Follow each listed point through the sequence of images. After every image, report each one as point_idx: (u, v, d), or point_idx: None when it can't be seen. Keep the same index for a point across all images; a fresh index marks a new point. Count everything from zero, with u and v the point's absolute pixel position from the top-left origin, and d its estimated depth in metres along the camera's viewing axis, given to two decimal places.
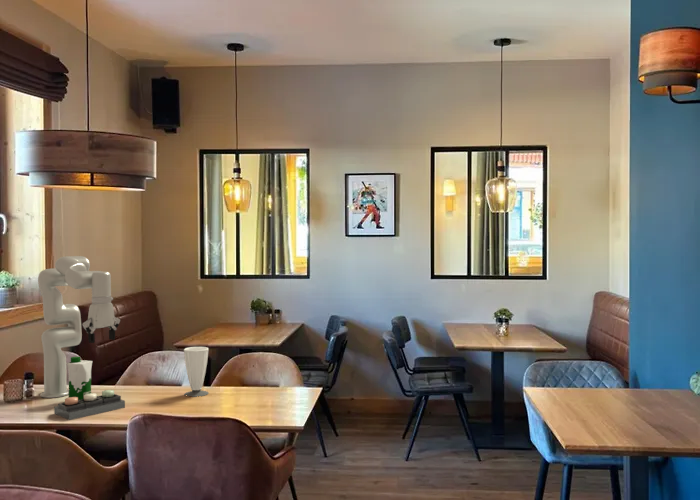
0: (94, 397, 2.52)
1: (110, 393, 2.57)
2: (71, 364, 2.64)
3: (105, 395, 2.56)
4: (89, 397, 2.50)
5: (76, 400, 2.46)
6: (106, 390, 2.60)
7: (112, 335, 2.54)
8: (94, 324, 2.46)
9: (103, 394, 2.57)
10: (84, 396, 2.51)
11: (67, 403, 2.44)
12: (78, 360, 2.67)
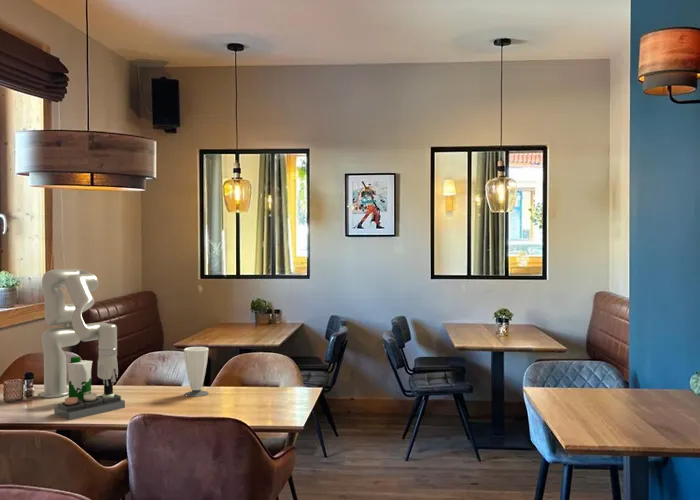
0: (94, 397, 2.52)
1: (110, 396, 2.57)
2: (71, 364, 2.64)
3: (105, 398, 2.56)
4: (89, 397, 2.50)
5: (76, 400, 2.46)
6: None
7: None
8: (117, 374, 2.57)
9: (103, 397, 2.57)
10: (84, 396, 2.51)
11: (67, 403, 2.44)
12: (78, 360, 2.67)
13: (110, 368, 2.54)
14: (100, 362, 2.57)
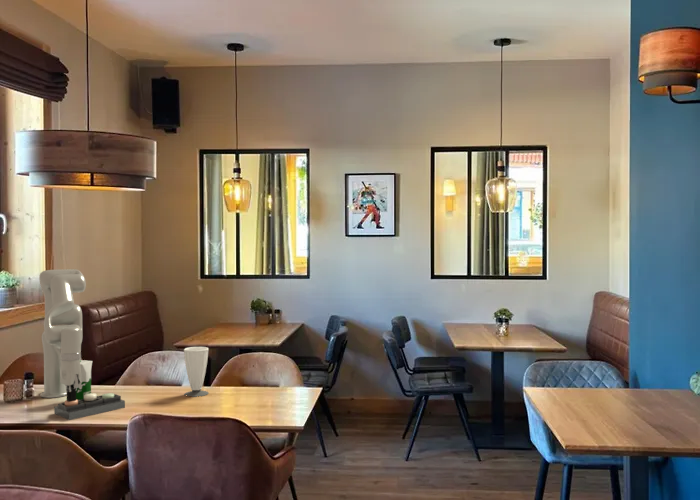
0: (94, 397, 2.52)
1: (110, 396, 2.57)
2: None
3: (105, 398, 2.56)
4: (89, 397, 2.50)
5: (76, 402, 2.46)
6: None
7: None
8: (80, 380, 2.45)
9: (103, 397, 2.57)
10: (84, 396, 2.51)
11: (67, 405, 2.44)
12: None
13: (72, 373, 2.42)
14: (63, 367, 2.45)
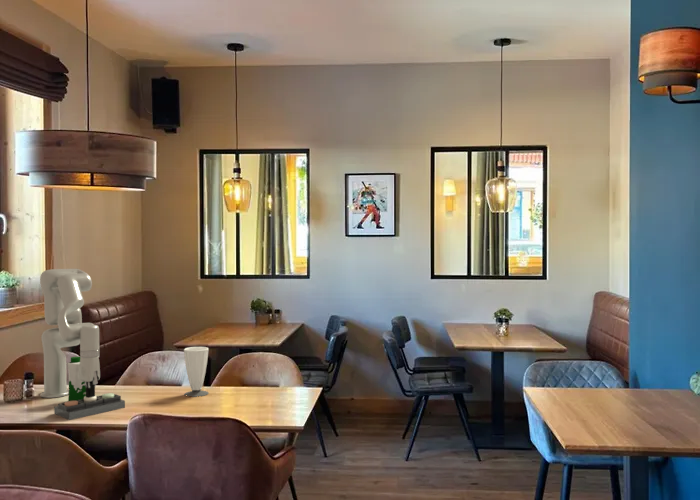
0: (94, 399, 2.52)
1: (110, 396, 2.57)
2: (71, 364, 2.64)
3: (105, 398, 2.56)
4: (89, 399, 2.50)
5: (76, 404, 2.46)
6: None
7: None
8: (99, 376, 2.51)
9: (103, 397, 2.57)
10: (84, 398, 2.51)
11: None
12: (78, 360, 2.67)
13: (92, 370, 2.48)
14: (82, 364, 2.51)
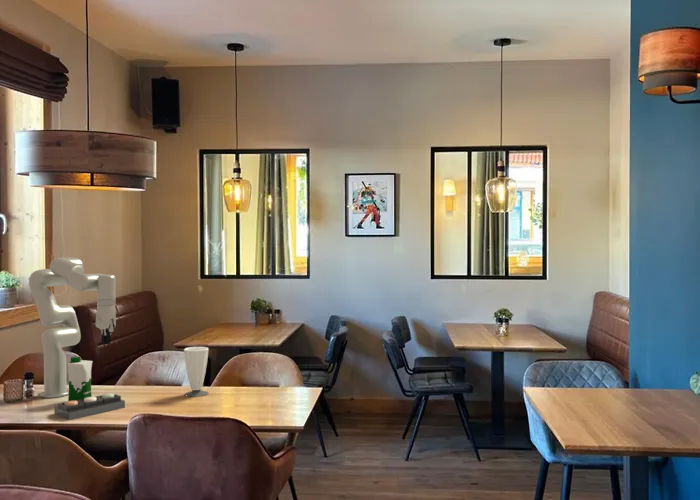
0: None
1: (110, 396, 2.57)
2: (71, 364, 2.64)
3: (105, 398, 2.56)
4: (89, 401, 2.50)
5: (76, 404, 2.46)
6: None
7: None
8: (115, 324, 2.59)
9: (103, 397, 2.57)
10: (84, 400, 2.51)
11: None
12: (78, 360, 2.67)
13: (108, 318, 2.57)
14: (98, 312, 2.60)
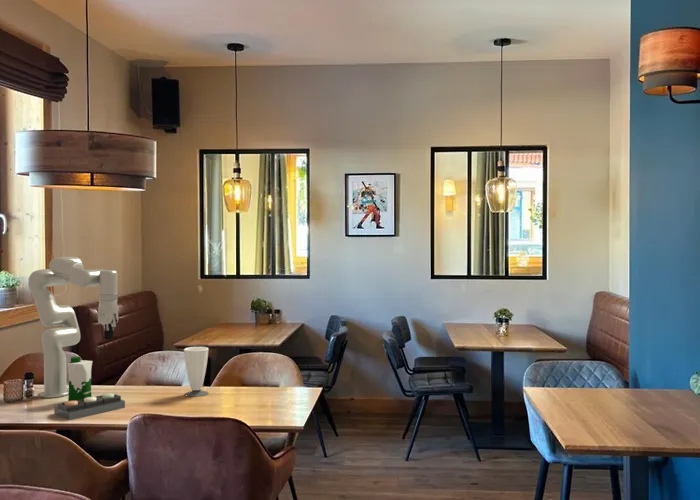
0: None
1: (110, 396, 2.57)
2: (71, 364, 2.64)
3: (105, 398, 2.56)
4: (89, 401, 2.50)
5: (76, 404, 2.46)
6: None
7: None
8: (117, 319, 2.60)
9: (103, 397, 2.57)
10: (84, 400, 2.51)
11: None
12: (78, 360, 2.67)
13: (110, 313, 2.58)
14: (101, 308, 2.61)
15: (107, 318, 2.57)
